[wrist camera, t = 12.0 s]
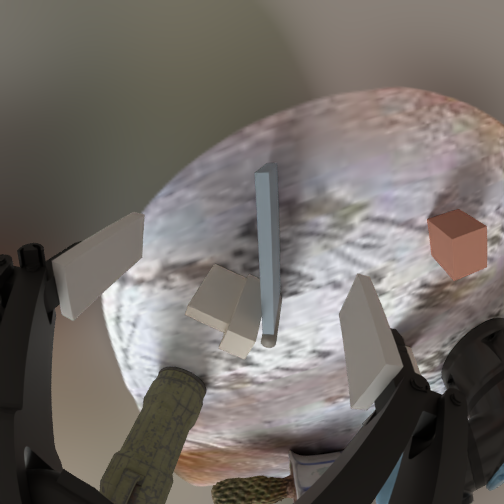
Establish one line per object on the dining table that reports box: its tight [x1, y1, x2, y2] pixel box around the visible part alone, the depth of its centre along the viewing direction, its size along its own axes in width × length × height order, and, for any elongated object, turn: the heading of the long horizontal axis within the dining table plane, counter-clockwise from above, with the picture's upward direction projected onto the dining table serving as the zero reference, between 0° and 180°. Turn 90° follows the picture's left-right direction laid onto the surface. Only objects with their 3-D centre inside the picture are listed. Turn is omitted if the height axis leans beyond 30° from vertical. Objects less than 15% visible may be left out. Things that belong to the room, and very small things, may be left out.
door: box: [255, 163, 282, 348], centre depth 25 cm, size 16×1×8 cm, turn 3°
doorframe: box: [185, 264, 421, 375], centre depth 27 cm, size 29×2×10 cm, turn 67°
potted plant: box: [211, 450, 343, 504], centre depth 40 cm, size 18×18×30 cm
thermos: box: [100, 367, 206, 504], centre depth 26 cm, size 9×12×35 cm
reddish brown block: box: [427, 209, 487, 281], centre depth 23 cm, size 4×4×6 cm
